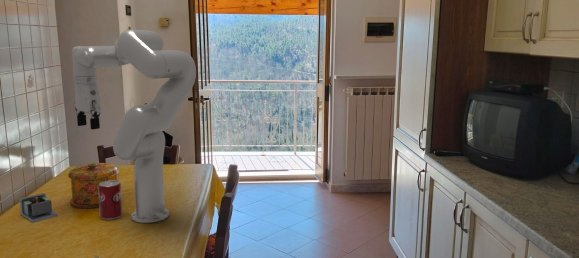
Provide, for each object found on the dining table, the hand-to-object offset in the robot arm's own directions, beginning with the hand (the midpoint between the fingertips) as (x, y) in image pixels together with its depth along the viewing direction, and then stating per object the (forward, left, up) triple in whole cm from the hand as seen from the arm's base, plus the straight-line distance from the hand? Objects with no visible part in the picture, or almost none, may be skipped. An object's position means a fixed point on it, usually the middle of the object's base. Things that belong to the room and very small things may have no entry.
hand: (88, 127), depth 168 cm
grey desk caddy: (-2, +20, -28) cm, 35 cm away
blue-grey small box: (-2, +20, -27) cm, 34 cm away
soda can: (-20, +4, -28) cm, 35 cm away
